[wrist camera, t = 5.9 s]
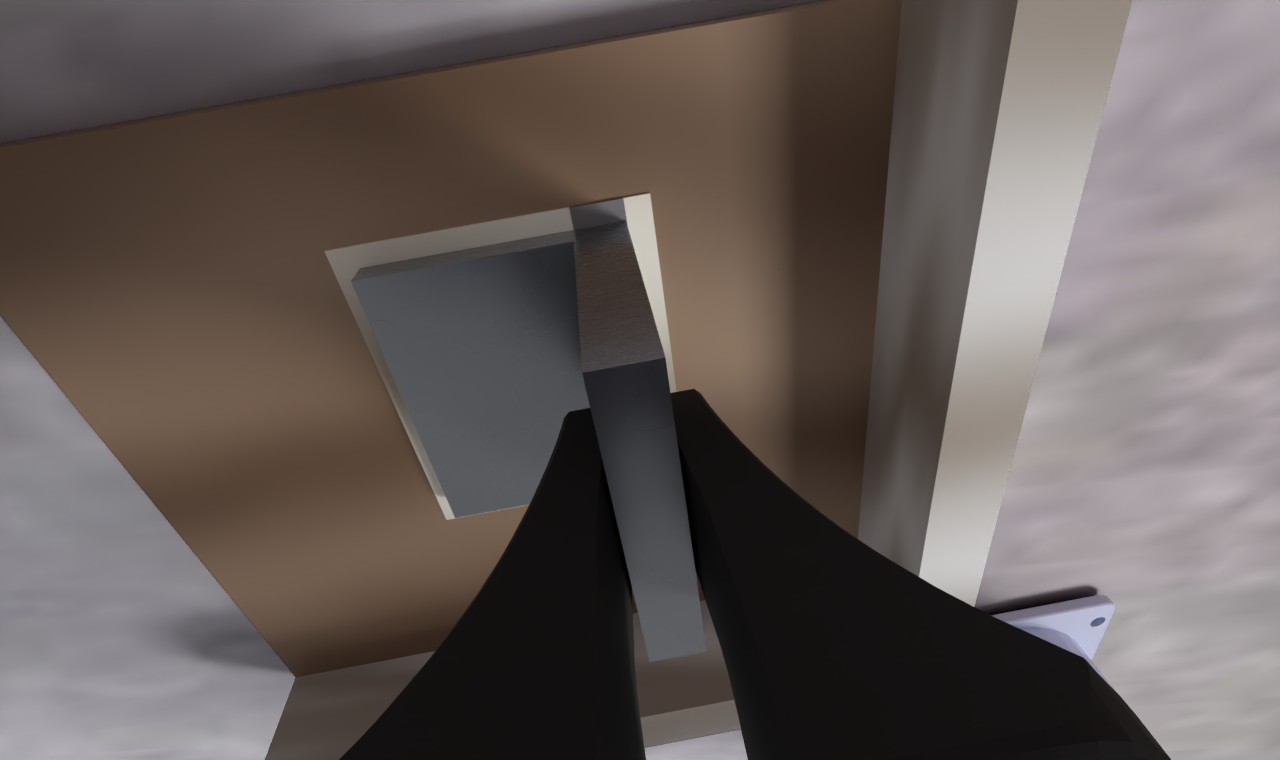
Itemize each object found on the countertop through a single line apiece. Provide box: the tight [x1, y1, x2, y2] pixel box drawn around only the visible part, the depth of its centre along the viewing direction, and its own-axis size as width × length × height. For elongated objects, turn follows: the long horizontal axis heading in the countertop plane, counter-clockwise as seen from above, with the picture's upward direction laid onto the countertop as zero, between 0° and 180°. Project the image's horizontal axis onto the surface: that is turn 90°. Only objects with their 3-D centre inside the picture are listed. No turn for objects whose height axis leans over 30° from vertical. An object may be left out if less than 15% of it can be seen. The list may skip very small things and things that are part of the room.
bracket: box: [351, 221, 707, 662], centre depth 11 cm, size 5×6×5 cm
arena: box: [0, 0, 1132, 760], centre depth 13 cm, size 16×18×4 cm
